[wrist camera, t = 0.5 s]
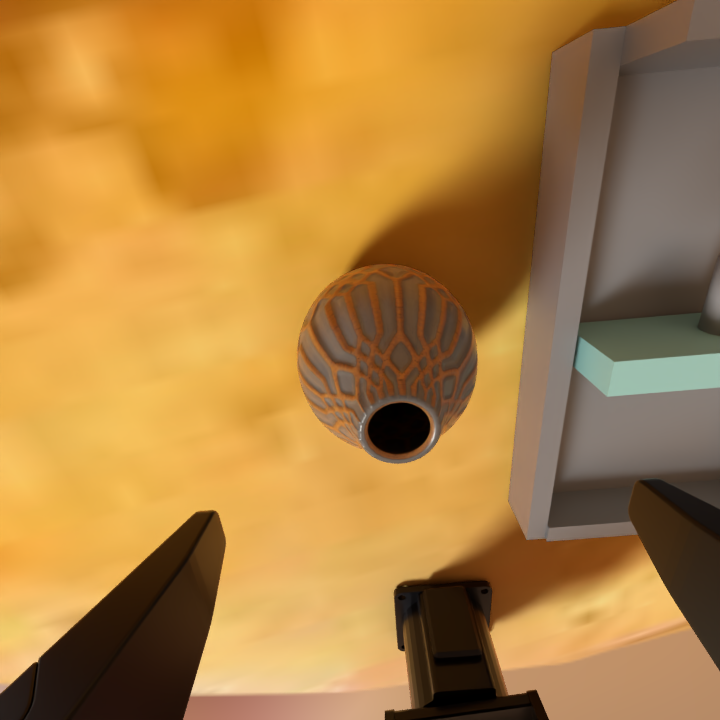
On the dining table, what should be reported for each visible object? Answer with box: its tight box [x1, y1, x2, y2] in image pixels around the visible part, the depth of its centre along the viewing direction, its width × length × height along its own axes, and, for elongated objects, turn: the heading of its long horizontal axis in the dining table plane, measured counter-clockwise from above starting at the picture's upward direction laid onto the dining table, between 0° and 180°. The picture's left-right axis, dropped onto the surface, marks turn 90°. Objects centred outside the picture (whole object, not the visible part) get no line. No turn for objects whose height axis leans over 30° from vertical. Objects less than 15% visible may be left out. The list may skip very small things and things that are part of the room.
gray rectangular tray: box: [508, 0, 720, 542], centre depth 17 cm, size 22×14×6 cm, turn 5°
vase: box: [297, 264, 477, 464], centre depth 15 cm, size 7×7×9 cm
